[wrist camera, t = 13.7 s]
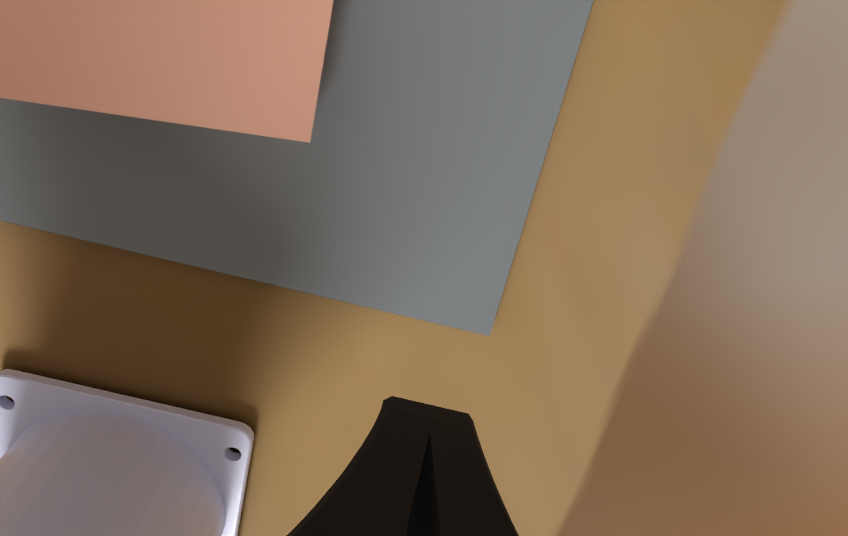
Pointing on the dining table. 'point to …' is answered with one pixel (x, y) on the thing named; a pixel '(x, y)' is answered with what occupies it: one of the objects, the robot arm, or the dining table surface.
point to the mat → (332, 164)
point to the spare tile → (171, 60)
